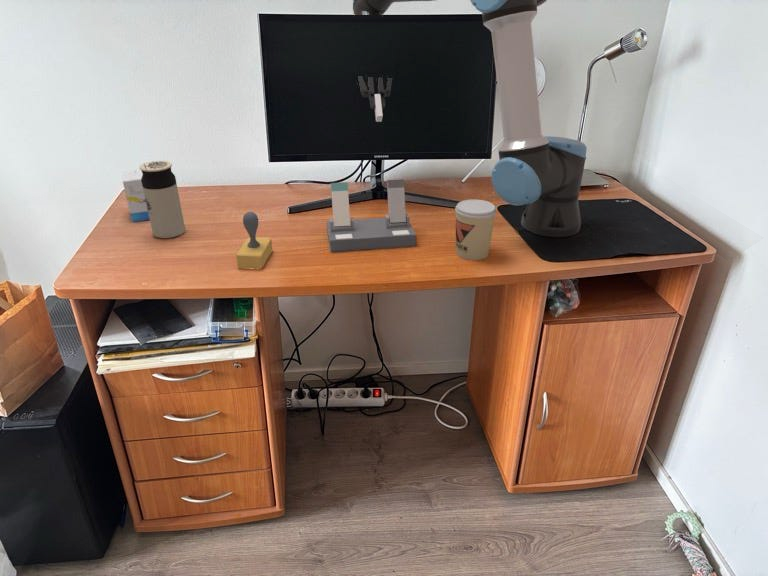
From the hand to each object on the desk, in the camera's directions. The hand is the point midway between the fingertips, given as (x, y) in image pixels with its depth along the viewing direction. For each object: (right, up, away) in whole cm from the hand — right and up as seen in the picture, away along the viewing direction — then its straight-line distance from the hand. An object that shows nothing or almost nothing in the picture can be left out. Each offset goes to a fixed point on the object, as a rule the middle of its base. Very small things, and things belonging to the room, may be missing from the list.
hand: (379, 118), depth 147 cm
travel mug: (-54, -30, -1) cm, 62 cm away
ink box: (-65, -24, +10) cm, 70 cm away
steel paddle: (+5, -27, -6) cm, 28 cm away
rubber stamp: (-29, -38, -14) cm, 50 cm away
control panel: (-2, -32, -5) cm, 32 cm away
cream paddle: (-9, -28, -8) cm, 31 cm away
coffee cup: (+22, -36, -12) cm, 44 cm away
